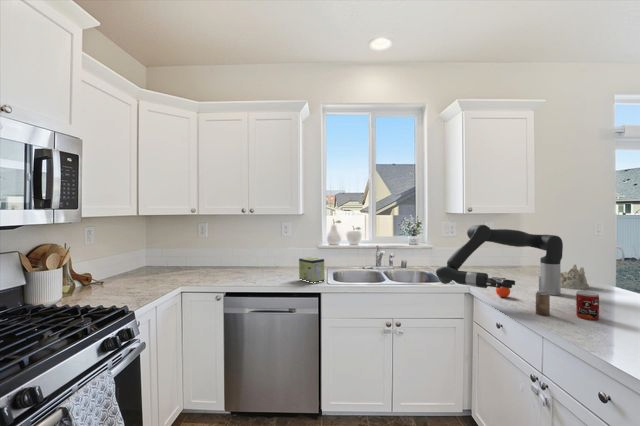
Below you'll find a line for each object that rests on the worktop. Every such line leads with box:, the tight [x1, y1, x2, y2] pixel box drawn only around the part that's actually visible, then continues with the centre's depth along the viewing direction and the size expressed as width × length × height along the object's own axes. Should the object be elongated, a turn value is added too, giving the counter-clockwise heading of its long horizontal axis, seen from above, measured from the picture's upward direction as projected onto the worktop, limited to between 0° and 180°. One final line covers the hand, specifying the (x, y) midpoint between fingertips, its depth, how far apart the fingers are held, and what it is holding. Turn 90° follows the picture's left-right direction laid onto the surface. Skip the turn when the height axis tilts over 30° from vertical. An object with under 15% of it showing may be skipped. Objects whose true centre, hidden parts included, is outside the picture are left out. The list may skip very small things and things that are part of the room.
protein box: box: [298, 256, 326, 283], centre depth 219 cm, size 10×16×16 cm
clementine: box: [495, 287, 511, 298], centre depth 174 cm, size 8×7×7 cm
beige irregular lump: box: [561, 264, 590, 291], centre depth 196 cm, size 16×16×15 cm
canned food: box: [575, 290, 600, 321], centre depth 140 cm, size 8×8×11 cm
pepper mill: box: [535, 290, 551, 317], centre depth 145 cm, size 5×5×10 cm
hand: (513, 284), depth 152 cm, fingers open, 8 cm apart
